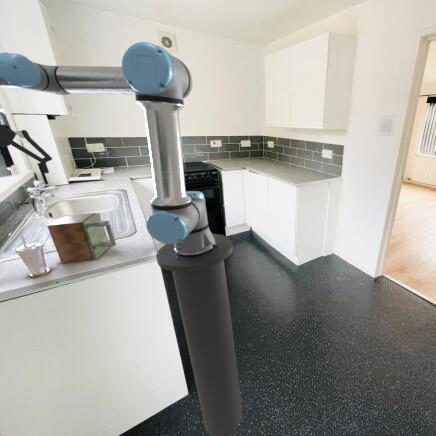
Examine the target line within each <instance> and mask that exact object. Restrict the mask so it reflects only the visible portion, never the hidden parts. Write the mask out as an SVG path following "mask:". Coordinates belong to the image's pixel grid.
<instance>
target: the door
mask: <svg viewBox="0 0 436 436" xmlns="http://www.w3.org/2000/svg"><path fill="white" fill-rule="evenodd" d="M95 213H96V214H95V215H93V216H91V217H90V218H88V219H87V220H85V221H84V222H82V226H83V229H84V232H85V235H86V238H87V241H88V244H89V247H90V250H91V253H92V256H93V260H97V259H98V258H99V257H100V256H101V255H102V254H103V253H104V252H105V251H106V250H107V249H108V248H111V247H116V246H117V245H118V244H117V241H116V237H115V234H114V231H113V227H112V224H111V221H110V220H102V217H101V213H100V212H95ZM105 228H106V230H105ZM106 231H107V234H106ZM107 235H108V237H107ZM108 239H109V240H108Z"/></svg>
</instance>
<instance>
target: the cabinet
mask: <svg viewBox="0 0 436 436" xmlns="http://www.w3.org/2000/svg"><path fill="white" fill-rule="evenodd" d="M96 213H97V212H88V213H77V214H75V213H74V214H66V215H64V216H62V217H60V218H58V219H56V220H55V221H53V222H50V223H49V224H47V225H46V226H47V229H48V231H49V234H50V236H51V239H52V242H53V244H54V247H55V250H56V252H57V256H58V257H59V260H60V262H61V264H66V263H74V262H75V263H76V262H83V261H91V260H94V259H93V256H92V253H91V250H90V247H89V244H88V241H87V238H86V235H85V232H84V229H83V226H82V222H84V221H85V220H87V219H88V218H90V217H91V216H93V215H95V214H96Z"/></svg>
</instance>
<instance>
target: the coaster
mask: <svg viewBox="0 0 436 436" xmlns="http://www.w3.org/2000/svg"><path fill="white" fill-rule="evenodd" d="M50 272H51V269H50V268H49V267H47V271H46V272H44V273H41V274H38V275H32V273H31V272H30V273H29V277H30V278H38V277H43V276H44V275H47V274H49V273H50Z"/></svg>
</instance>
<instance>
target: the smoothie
mask: <svg viewBox="0 0 436 436" xmlns="http://www.w3.org/2000/svg"><path fill="white" fill-rule="evenodd" d="M19 236H20V239H21V241H22V243H23V245H20V246H18V247H16V248H14V251H15V253H16V254H17V255H18V256H19V257H20V259H21V260H22V262H23V263H24V264H25V266H26V267H27V269H28V271H29V272H30V274H31V273H32V275H38V274H41V273H44V272H46V271H47V268H48V267H47V263H46V258H45V254H44V249H43V247H44V245H43V243H42V242H38V241H37V242H31V243H27V242H26V240H25V237H24V235H23V234H19Z"/></svg>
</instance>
